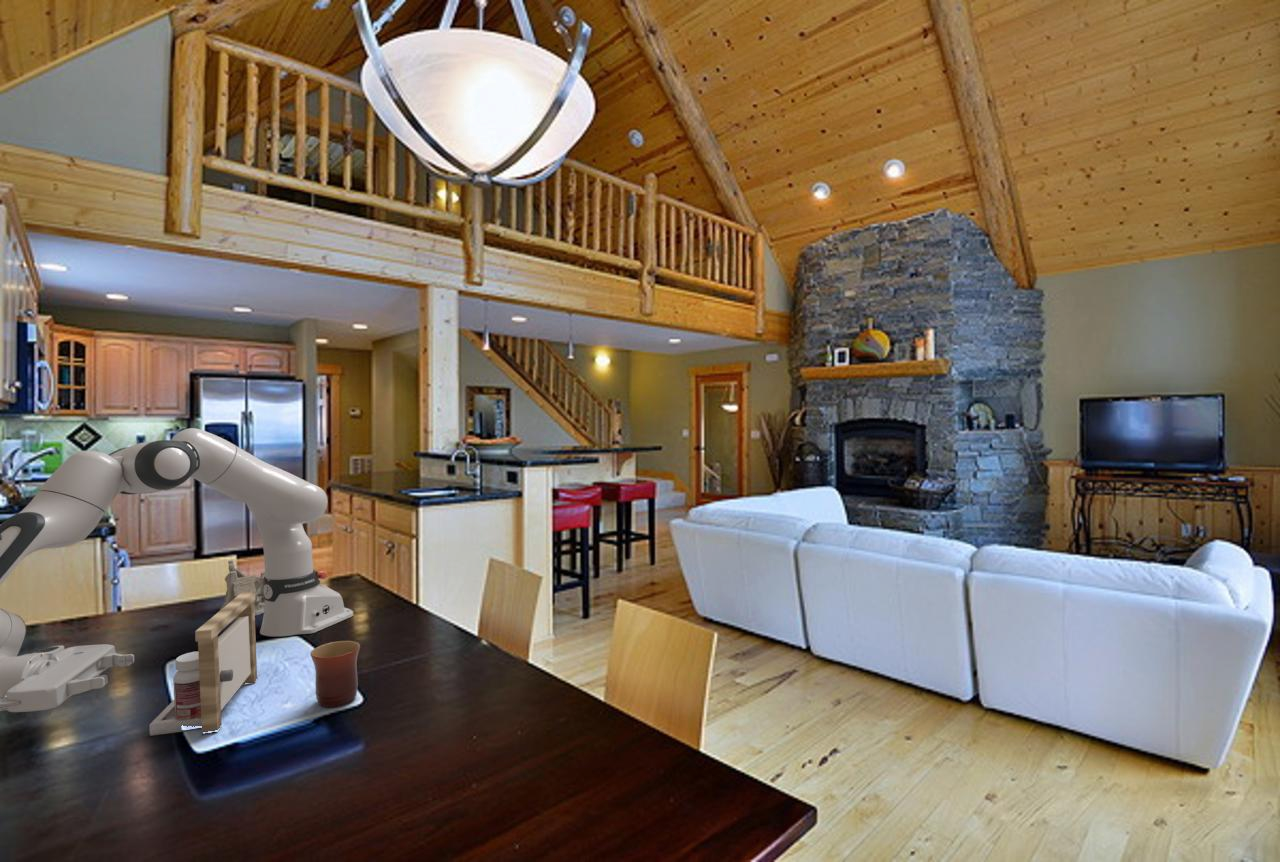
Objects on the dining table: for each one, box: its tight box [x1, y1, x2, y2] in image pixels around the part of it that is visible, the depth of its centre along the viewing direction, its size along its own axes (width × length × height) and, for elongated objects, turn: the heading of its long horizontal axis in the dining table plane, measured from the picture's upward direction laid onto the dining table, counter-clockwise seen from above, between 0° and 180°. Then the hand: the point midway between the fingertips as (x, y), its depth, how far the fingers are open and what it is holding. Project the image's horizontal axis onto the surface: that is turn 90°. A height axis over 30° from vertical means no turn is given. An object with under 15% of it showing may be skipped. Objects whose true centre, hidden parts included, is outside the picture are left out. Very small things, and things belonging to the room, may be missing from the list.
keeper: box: [148, 699, 202, 737], centre depth 118 cm, size 10×9×2 cm
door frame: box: [194, 591, 258, 733], centre depth 122 cm, size 25×2×19 cm, turn 16°
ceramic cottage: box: [219, 559, 265, 621], centre depth 183 cm, size 16×16×15 cm
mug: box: [310, 640, 361, 708], centre depth 125 cm, size 12×9×10 cm
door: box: [218, 616, 251, 711], centre depth 123 cm, size 18×3×12 cm, turn 16°
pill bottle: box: [172, 651, 201, 719], centre depth 118 cm, size 6×6×11 cm
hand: (119, 669), depth 114 cm, fingers open, 8 cm apart
